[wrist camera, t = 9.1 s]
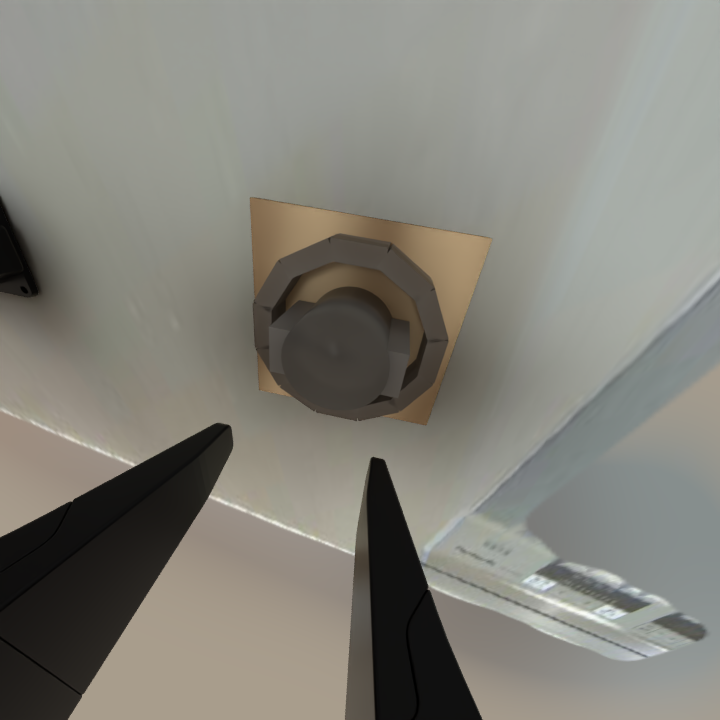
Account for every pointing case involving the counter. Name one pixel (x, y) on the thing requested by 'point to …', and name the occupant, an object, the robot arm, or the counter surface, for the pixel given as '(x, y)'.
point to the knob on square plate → (370, 272)
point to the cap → (341, 349)
